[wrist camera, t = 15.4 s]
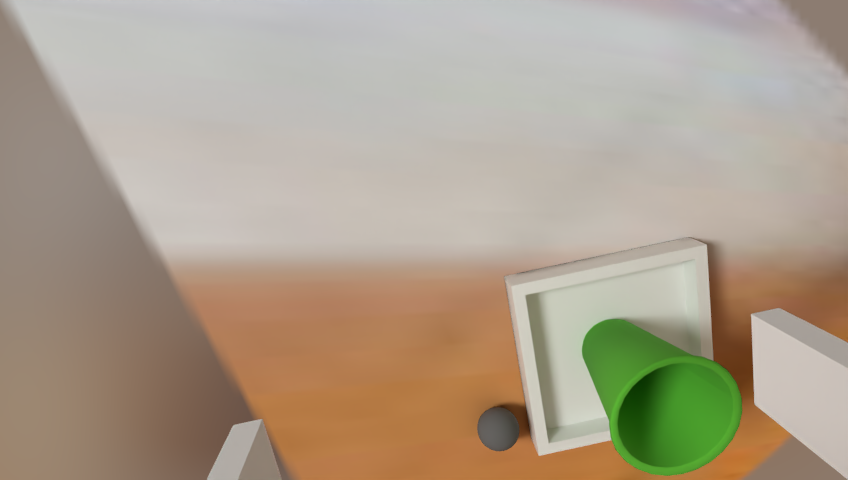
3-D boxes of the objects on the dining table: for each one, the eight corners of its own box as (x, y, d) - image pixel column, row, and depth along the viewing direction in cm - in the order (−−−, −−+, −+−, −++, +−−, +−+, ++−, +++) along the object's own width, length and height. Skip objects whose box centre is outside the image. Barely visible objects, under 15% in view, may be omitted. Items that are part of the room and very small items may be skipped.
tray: (504, 276, 43) (511, 286, 41) (689, 237, 43) (706, 244, 41) (531, 438, 47) (539, 455, 45) (700, 401, 48) (716, 416, 45)
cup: (546, 316, 44) (596, 383, 33) (648, 281, 44) (732, 338, 33) (572, 404, 46) (626, 493, 35) (669, 372, 46) (753, 452, 35)
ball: (471, 403, 46) (478, 427, 43) (510, 395, 46) (520, 418, 43) (477, 438, 47) (485, 464, 43) (516, 429, 47) (526, 455, 43)
